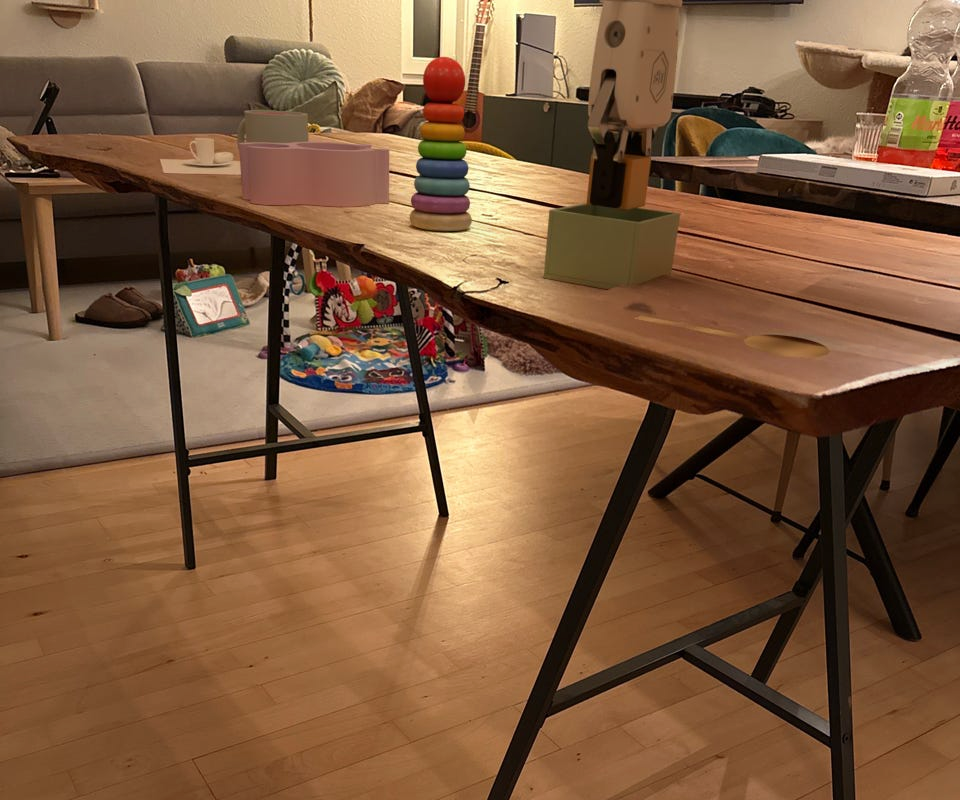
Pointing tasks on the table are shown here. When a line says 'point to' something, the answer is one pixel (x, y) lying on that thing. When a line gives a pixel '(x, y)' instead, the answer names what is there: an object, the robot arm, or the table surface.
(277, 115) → the mug
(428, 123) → the stacking toy
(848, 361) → the table surface
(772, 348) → the spoon
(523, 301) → the table surface
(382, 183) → the pink twin-well planter
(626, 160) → the block
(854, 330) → the table surface
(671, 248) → the open top crate
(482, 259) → the table surface
